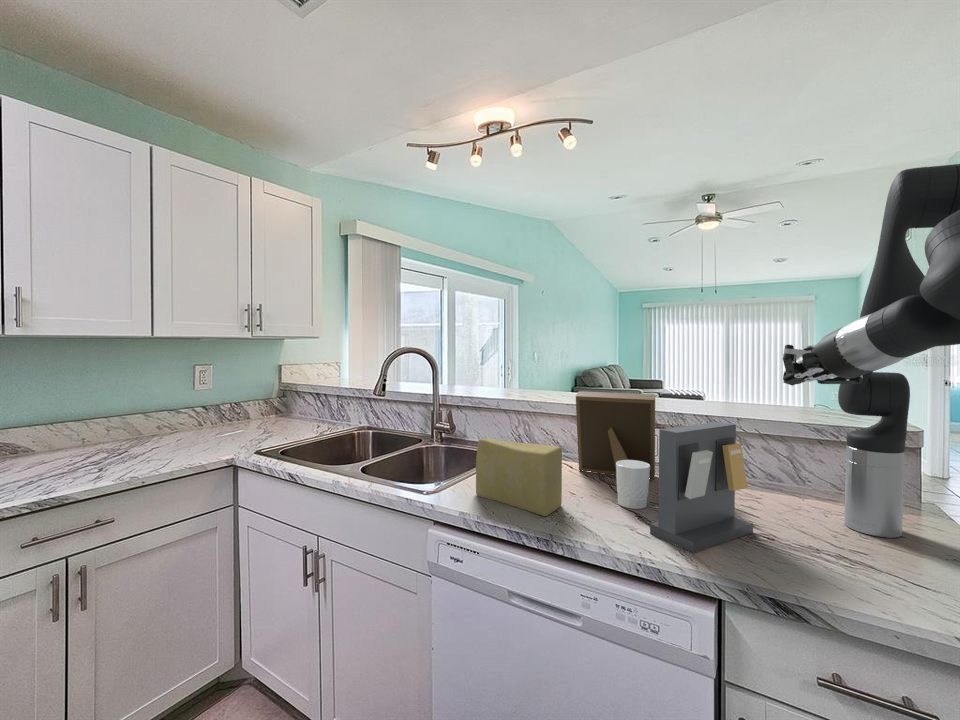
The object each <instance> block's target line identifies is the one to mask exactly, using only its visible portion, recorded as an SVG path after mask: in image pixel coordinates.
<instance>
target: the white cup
mask: <svg viewBox="0 0 960 720" xmlns="http://www.w3.org/2000/svg"><path fill="white" fill-rule="evenodd" d="M649 475H650V465H649V464H648V463H646V462H642V461H637V460H620V461H617V462H616V475H615V477H616V478H615V479H616V491H617V503H618V505H619V506H622V507H623V508H627V509H632V510H642V509H644V508H645V509H646V508H647V506H648V495H649V487H650V479H649Z"/></svg>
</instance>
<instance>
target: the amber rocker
mask: <svg viewBox="0 0 960 720" xmlns="http://www.w3.org/2000/svg"><path fill="white" fill-rule="evenodd" d="M722 447H723V454H724V461H725V468H726V474H727V481H728V488H729V490H730V491H735V492H736V491H740V490H744V489H747V488H748V482H747V481H748V480H747V475H746V468H745V462H744V456H743V448H742V443H737V442H736V443H734V444H728V445H723V446H722Z"/></svg>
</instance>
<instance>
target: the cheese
mask: <svg viewBox="0 0 960 720" xmlns="http://www.w3.org/2000/svg"><path fill="white" fill-rule="evenodd" d="M562 460H563V450H562V447H561V446H557V445H548V444H539V443H529V442H517V441H516V442H515V441H507V440H502V439H501V440H499V439H493V438H487V437H486V438H481V439H478V441H477V449H476V458H475V495H477V497H481V496H482V497H481V498H484V497H485V498H484V499H488V500H491V501H494V500H495V502H499V503H501V504H505V505H508V506H511V505H512V507H515V508H518V509H522V510H525V511H528V512H530V513H534V514H537V515H540V516H542V517H548V516H549V515H551V514H552V513H553V512H555V511H556V510H558V509H559V508H560V507H561V506H562V503H563V502H562V501H563V500H562V499H563V497H562V495H563V493H562V492H563V490H562V489H563V488H562V487H563V483H562V482H563V481H562V479H563V475H562V473H563V466H562V465H563V464H562V463H563V462H562Z"/></svg>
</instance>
